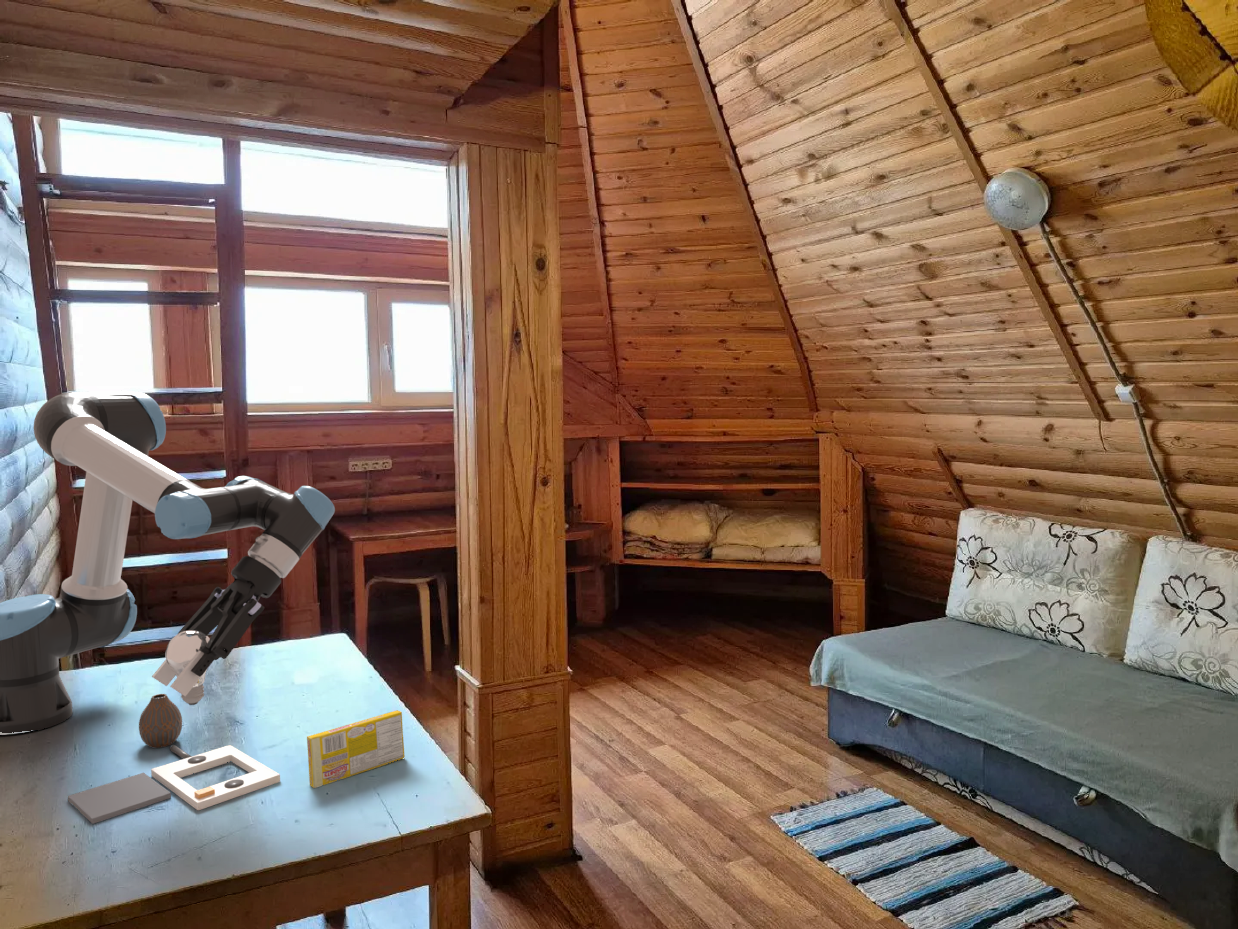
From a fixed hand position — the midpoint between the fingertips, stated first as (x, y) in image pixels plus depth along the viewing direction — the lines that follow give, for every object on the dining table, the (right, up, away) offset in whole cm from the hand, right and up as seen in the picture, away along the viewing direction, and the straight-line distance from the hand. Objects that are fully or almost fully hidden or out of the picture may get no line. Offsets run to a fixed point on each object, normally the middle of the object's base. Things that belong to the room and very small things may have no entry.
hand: (168, 686), depth 139 cm
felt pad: (-7, -17, -1) cm, 19 cm away
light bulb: (+2, -4, +3) cm, 6 cm away
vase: (-11, -16, +20) cm, 28 cm away
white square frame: (+2, -16, +8) cm, 18 cm away
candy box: (+27, -16, +8) cm, 33 cm away
